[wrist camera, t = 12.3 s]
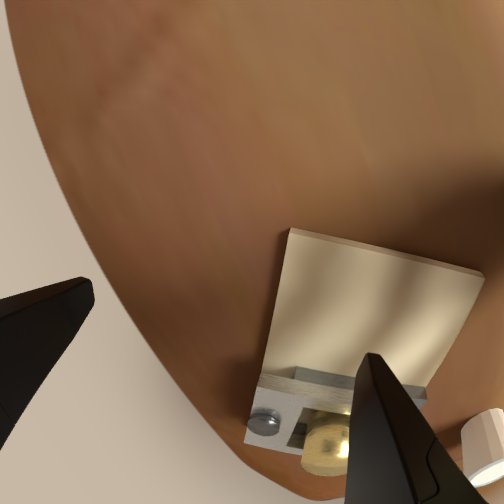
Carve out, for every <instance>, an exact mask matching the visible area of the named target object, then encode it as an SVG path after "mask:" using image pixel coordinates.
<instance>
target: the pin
mask: <svg viewBox="0 0 504 504" xmlns="http://www.w3.org/2000/svg"><path fill="white" fill-rule="evenodd" d="M349 422H350V415H347V414H340V413H334V412H328V411H322V410H317V409H311V408H310V411H309V418H308V424H307V431H306V437H305V443H304V449H303V455H302V461H301V466H302V468H303V469H304V470H306V471H307V472H309V473H312V474H315V475H320V476H338V475H343V474H347V464H348V444H349Z"/></svg>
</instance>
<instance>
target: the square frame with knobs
mask: <svg viewBox="0 0 504 504" xmlns="http://www.w3.org/2000/svg"><path fill="white" fill-rule="evenodd" d="M354 385H355V377H352V376H346V375H340V374H335V373H329V372H324V371H319V370H314V369H309V368H304V367H299V366H296V369H295V372H294V375H293V378H292V379H289V378H285V377H280V376H276V375H272V374H267V373H263V372H261V374H260V378H259V381H258V384H257V388H256V392H255V397H254V401H253V406H252V410H251V414H250V417H249V420H248V423H247V432H246V436H245V440H244V443H246V444H250V445H255V446H259V447H263V448H267V449H272V450H277V451H282V452H287V453H292V454H297V455H303V449H304V443H305V437H306V431H307V424H305V423H300V422H297V421H298V418H299V416H300V414H301V411H302V409H303V407H306V408H311V409H317V410H322V411H328V412H334V413H340V414H347V415H350V414H351V407H352V400H353V393H354ZM402 386H403V387H404V389H405V390H406V391H407V393H408V394H409V396H410V397H411V399H412V400H413V402H414V403H415V405H416V406H417V407H418V409H419V410H420V409H421V408H422V406H423V405H424V404H425V402H426V401H427V395H426V390H425V387H423V386H414V385H406V384H402Z"/></svg>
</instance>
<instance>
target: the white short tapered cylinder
mask: <svg viewBox="0 0 504 504" xmlns="http://www.w3.org/2000/svg"><path fill="white" fill-rule="evenodd" d="M461 440H462V452H463V469H464V475H465V476H466V477H467V479H468V480H469V481H470V482H471V484H472V485H473V486H474V487H475V488H476V487H480V486H484V485H487V484H490V483H492V482H495V481H497V480H499V479H500V478H502V477H504V412H503V410H502V409H498V408H495V409H489V410H486V411H484V412H481V413H479V414H478V415H476V416H474V417H473V418H471V419H470V420H469V421H468V422H467V423H466V424H465V425H464V426H463V428H462V429H461Z"/></svg>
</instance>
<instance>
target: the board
mask: <svg viewBox="0 0 504 504" xmlns="http://www.w3.org/2000/svg"><path fill="white" fill-rule="evenodd" d="M484 281H485V277H484V276H483V275H482V273H481V272H479V271H475V270H472V269H468V268H464V267H460V266H456V265H452V264H448V263H444V262H440V261H436V260H432V259H428V258H424V257H420V256H416V255H412V254H408V253H404V252H400V251H395V250H391V249H387V248H383V247H378V246H374V245H370V244H365V243H361V242H357V241H352V240H348V239H343V238H339V237H334V236H330V235H325V234H320V233H316V232H311V231H306V230H302V229H297V228H292V227H291V229H290V232H289V237H288V242H287V247H286V253H285V258H284V263H283V268H282V273H281V279H280V284H279V289H278V294H277V299H276V304H275V309H274V313H273V318H272V323H271V328H270V333H269V337H268V342H267V347H266V351H265V356H264V361H263V365H262V370H261V372H263V373H267V374H272V375H276V376H280V377H285V378H289V379H292V378H293V375H294V372H295V369H296V366H299V367H304V368H309V369H314V370H319V371H324V372H329V373H335V374H340V375H346V376H352V377H356V373H357V371H358V368H359V366H360V364H361V362H362V360H363V358H364V356H365V354H366V353H368V352H371V353H377V354H380V355H381V356H382V357H383V359H384V360H385V362H386V363H387V364H388V366H389V367H390V369H391V370H392V371H393V373H394V374H395V376H396V377H397V379H398V380H399V381H400V383H401V384H406V385H414V386H423V387H426V386H427V384H428V383H429V381H430V380H431V378H432V377H433V375H434V374H435V372H436V370H437V369H438V367H439V366H440V364H441V362H442V361H443V359H444V358H445V356H446V354H447V353H448V351H449V349H450V347H451V346H452V344H453V342H454V340H455V339H456V337H457V335H458V333H459V331H460V330H461V328H462V326H463V324H464V322H465V320H466V318H467V316H468V314H469V312H470V310H471V308H472V306H473V304H474V302H475V300H476V298H477V296H478V294H479V292H480V290H481V287H482V285H483V283H484ZM309 411H310V408H306V407H303V409H302V411H301V414H300V416H299V418H298V421H297V422H300V423H305V424H308V418H309Z"/></svg>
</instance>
